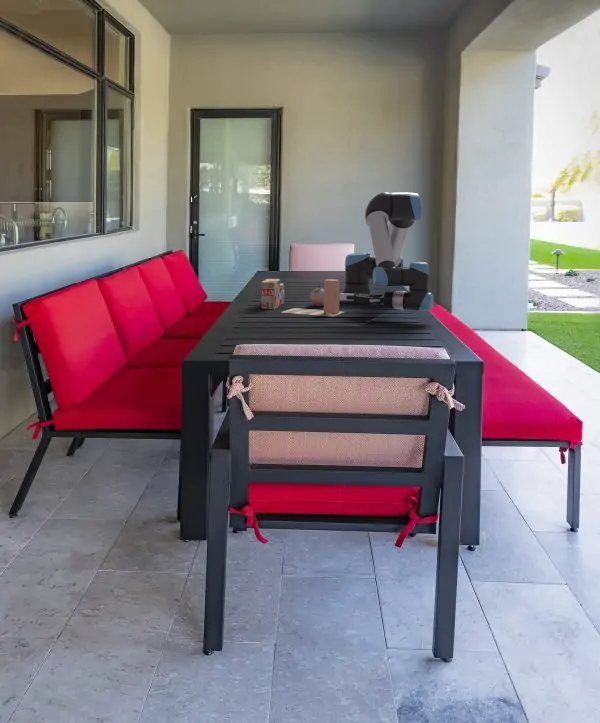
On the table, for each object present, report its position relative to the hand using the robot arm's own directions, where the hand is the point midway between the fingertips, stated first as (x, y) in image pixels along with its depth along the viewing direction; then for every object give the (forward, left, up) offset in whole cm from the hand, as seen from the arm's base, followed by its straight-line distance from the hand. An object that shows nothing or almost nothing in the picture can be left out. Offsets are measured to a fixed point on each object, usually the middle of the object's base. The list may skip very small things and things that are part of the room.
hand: (340, 296), depth 319 cm
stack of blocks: (+23, -35, -9) cm, 42 cm away
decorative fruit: (+3, -25, -9) cm, 26 cm away
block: (+3, -3, -7) cm, 8 cm away
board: (+10, -7, -8) cm, 15 cm away
